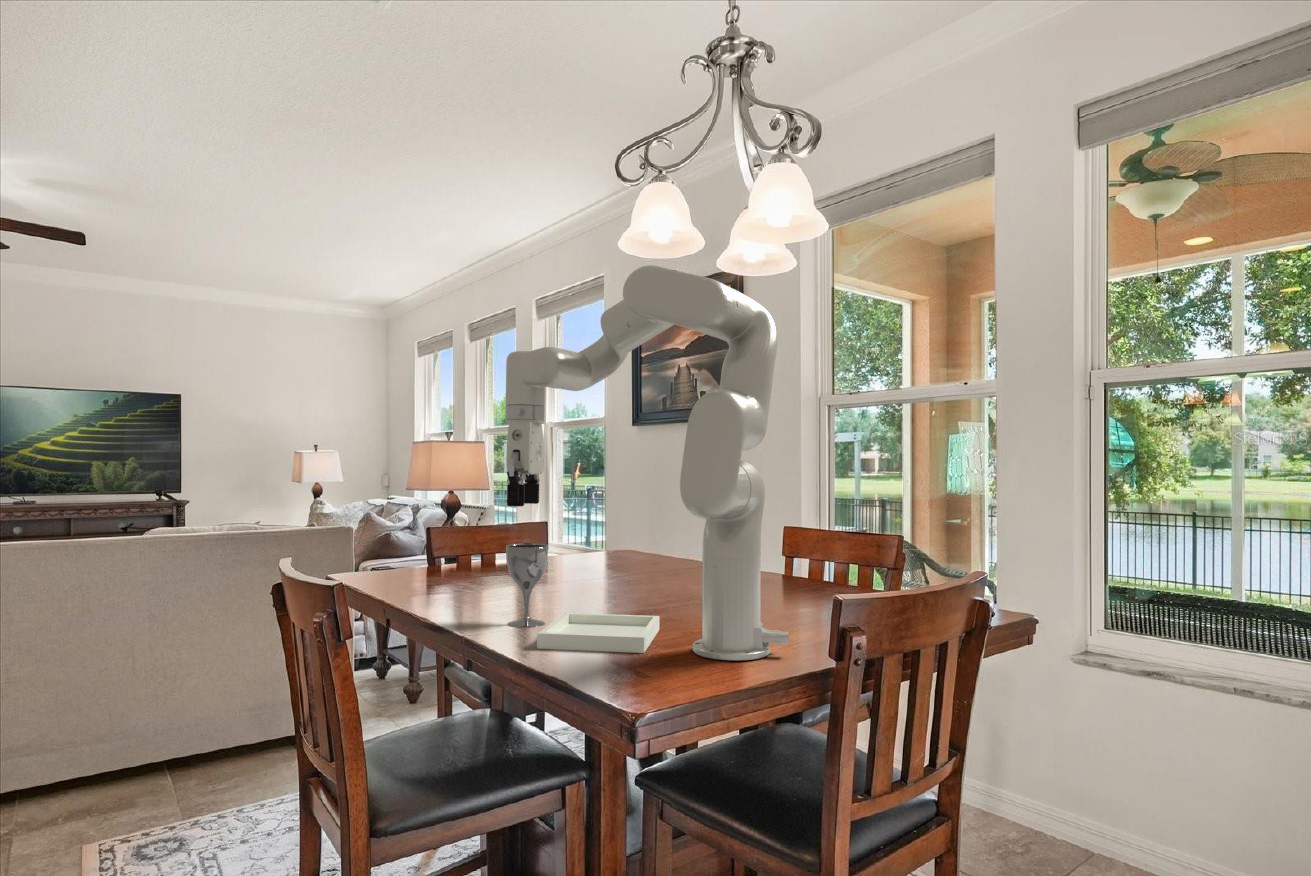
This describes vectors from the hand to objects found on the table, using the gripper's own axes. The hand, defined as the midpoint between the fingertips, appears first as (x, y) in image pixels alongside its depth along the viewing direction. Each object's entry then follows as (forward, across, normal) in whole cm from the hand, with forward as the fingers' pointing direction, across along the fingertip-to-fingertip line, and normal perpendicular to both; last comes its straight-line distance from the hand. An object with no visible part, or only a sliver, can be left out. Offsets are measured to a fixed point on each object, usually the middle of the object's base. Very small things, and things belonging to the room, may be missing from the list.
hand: (523, 504), depth 146 cm
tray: (+23, -9, -18) cm, 30 cm away
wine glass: (+23, +1, -1) cm, 23 cm away
